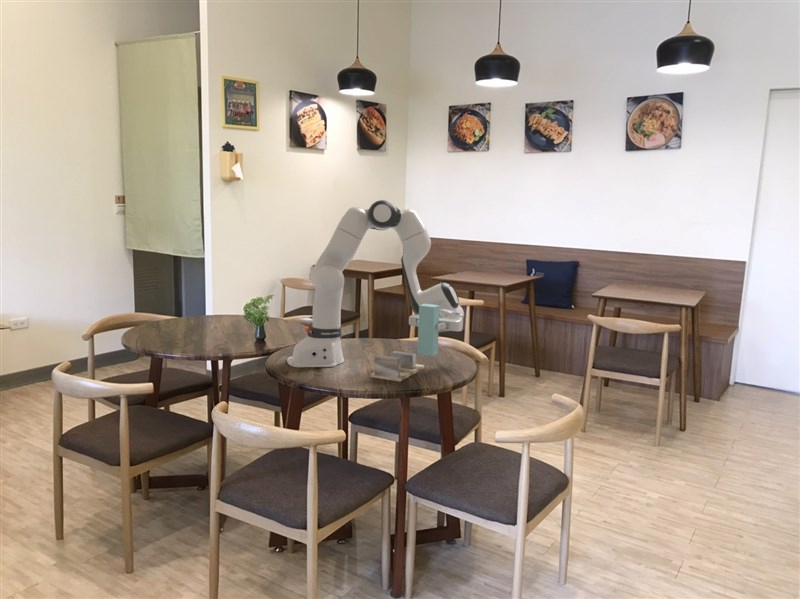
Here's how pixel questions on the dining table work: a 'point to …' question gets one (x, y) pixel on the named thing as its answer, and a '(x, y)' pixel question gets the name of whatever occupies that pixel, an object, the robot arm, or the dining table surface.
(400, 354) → the block
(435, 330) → the teal block
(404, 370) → the vise base
